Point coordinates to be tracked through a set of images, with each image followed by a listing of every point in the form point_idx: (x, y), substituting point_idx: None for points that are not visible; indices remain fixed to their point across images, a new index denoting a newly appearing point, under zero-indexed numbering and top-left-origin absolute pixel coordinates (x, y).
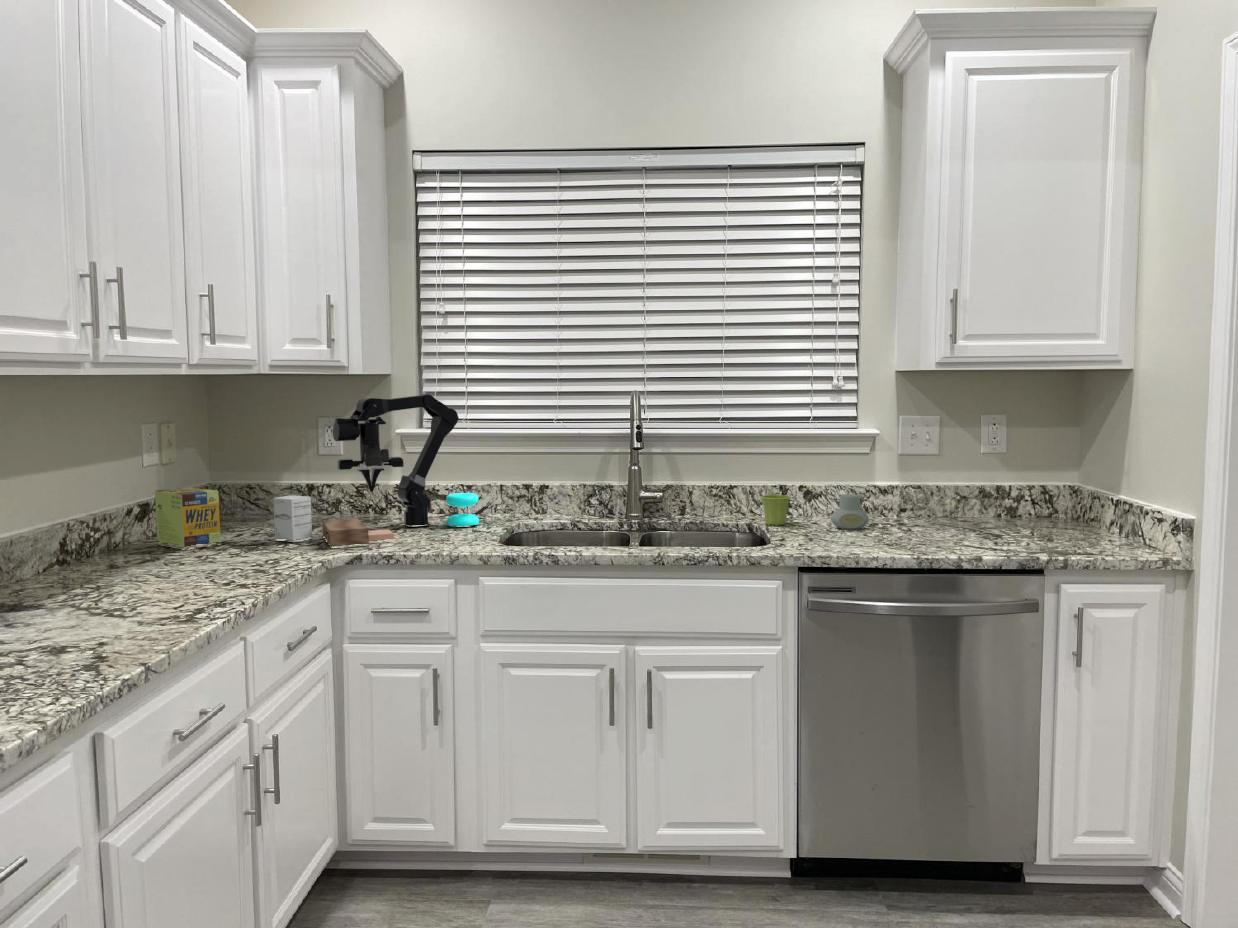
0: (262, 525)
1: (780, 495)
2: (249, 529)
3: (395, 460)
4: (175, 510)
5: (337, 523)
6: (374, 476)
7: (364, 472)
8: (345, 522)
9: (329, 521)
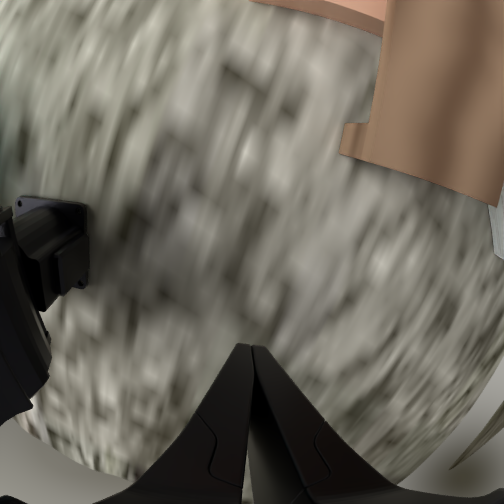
0: (415, 448)
1: None
2: (458, 415)
3: None
4: None
5: (484, 79)
6: (221, 469)
7: (441, 500)
8: (456, 75)
9: (489, 165)
